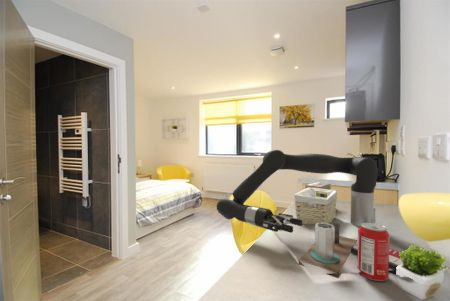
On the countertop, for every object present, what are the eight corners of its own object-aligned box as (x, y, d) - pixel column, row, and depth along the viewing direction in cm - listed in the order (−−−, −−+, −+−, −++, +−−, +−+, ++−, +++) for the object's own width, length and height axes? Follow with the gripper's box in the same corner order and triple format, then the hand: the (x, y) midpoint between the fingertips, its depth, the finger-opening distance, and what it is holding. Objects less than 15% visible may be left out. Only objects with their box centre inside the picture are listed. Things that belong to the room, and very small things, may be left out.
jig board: (325, 235, 97) (325, 216, 97) (357, 243, 89) (357, 222, 89) (298, 264, 74) (298, 238, 74) (338, 278, 66) (339, 249, 66)
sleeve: (327, 251, 79) (328, 222, 79) (337, 259, 73) (337, 228, 73) (312, 251, 78) (312, 223, 78) (320, 259, 73) (321, 229, 72)
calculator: (403, 266, 66) (350, 245, 79) (402, 280, 67) (349, 257, 79) (415, 256, 73) (365, 238, 85) (414, 269, 73) (364, 249, 85)
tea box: (315, 203, 150) (316, 181, 150) (331, 206, 143) (331, 183, 143) (304, 207, 140) (305, 184, 140) (320, 211, 133) (321, 186, 133)
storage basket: (327, 230, 103) (327, 198, 103) (292, 223, 113) (292, 193, 113) (337, 217, 122) (338, 190, 122) (307, 211, 132) (307, 186, 132)
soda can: (359, 279, 66) (360, 228, 65) (355, 266, 73) (356, 220, 72) (391, 286, 62) (393, 232, 62) (385, 271, 70) (386, 223, 69)
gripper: (249, 211, 86) (289, 220, 76) (267, 204, 97) (304, 211, 87) (248, 230, 86) (289, 243, 76) (267, 221, 97) (304, 230, 87)
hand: (297, 226), depth 81 cm, fingers open, 8 cm apart
